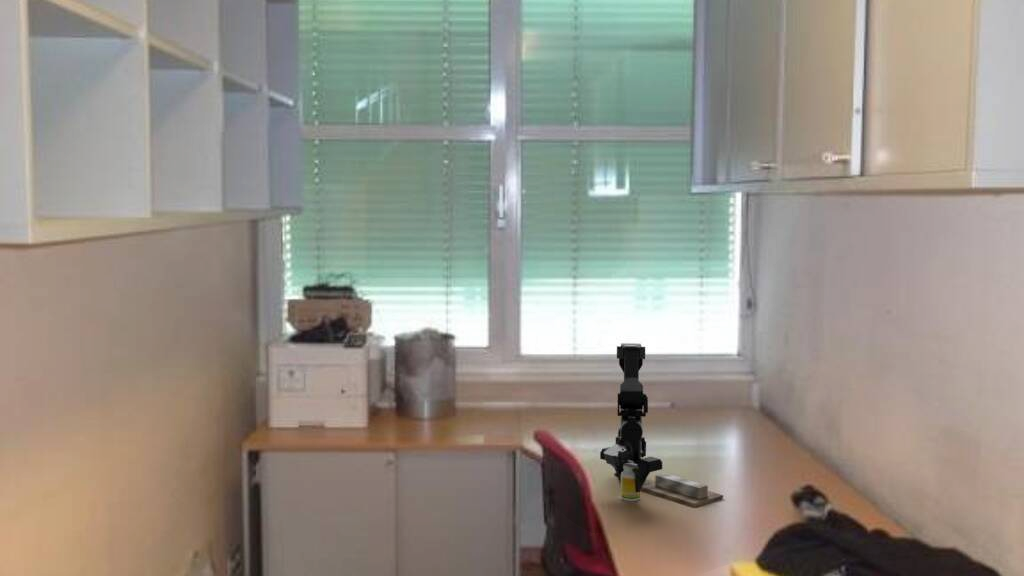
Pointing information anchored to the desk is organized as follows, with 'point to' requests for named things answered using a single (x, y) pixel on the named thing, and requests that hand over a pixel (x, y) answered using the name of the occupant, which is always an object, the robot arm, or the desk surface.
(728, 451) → the desk surface
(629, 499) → the supplement bottle
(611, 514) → the desk surface
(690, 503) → the ridge board
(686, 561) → the desk surface
